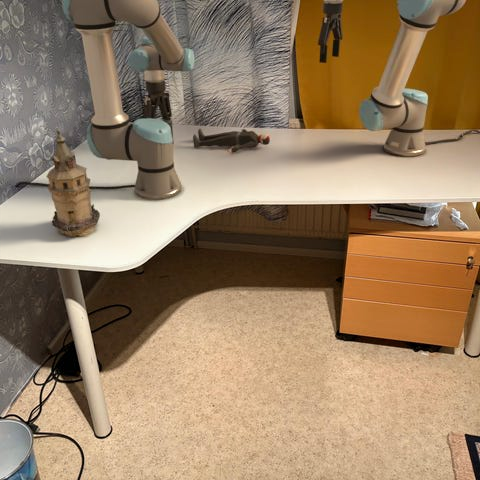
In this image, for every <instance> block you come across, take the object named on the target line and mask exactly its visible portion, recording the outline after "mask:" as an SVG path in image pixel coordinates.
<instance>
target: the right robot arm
mask: <svg viewBox="0 0 480 480" xmlns="http://www.w3.org/2000/svg"><path fill="white" fill-rule="evenodd" d="M343 2H344V0H323V3H322V13H323V14H324V15H326V16H325V17H322V20H321V21H322V22H321V27H320V31H319V37H318V41H317V46H319V61H318V62H319V63H321V64H326V63H327V61H328V45H327V44H328V42H329V38H330V35H331V33H332V36H333V39H332V51H331V57H333V58H334V57H335V58H336V57H337V58H339V57H340V48H341V47H340V45H341V41H343V38H344V37H343V25H342V13H343V5H344V4H343ZM466 2H467V0H396V4H397V11H398V13H399V15H398V18H399V20H400V22H401V24H400V27H399V29H398V32H397V35H396V37H395V41H394V43H393V46H392V48H391V52H390V54H389V57H388V59H387V62H386V65H385V67H384V70H383V73H382V75H381V79H380V80H379V81H380V82H379V84H378V86H376V87H374V88H372V90H371V94H370V96H369V98H365V99H364V100H362V101H361V102H360V104H359V108H358V115H359V119H360V122H361V124H362V126H363V127H364V128H365V129H366V130H367V131H370V132H380V131H384V130H389V129H390V131H389V134H388V136H387V137H386V140H385V142H384V145H383V146H384V147H383V149H384V151H385V152H386V153H388V154H391V155H394V156H399V157H417V156H422V155H423V154H424V153H425V151H426V145H431V144H439V143H443V142H444V143H446V142H455V141H460V140H462V139H463V138H464V135H467V134H470V133H475V132H476V133H477V134H480V130H478V129H470V130H467V131H464V132H465V133H464V132H462V133H463V136H462V133H461V134H460V137H461V136H462V137H461V138H460V137H456V138H457V139H456V138H445V139H439V140H433V141H425V137H424V127H425V121H426V115H427V111H428V105H429V104H428V102H429V96H428V94H427V93H426V92H425V91H422V90H418V89H414V88H406V85H407V83H408V80H409V78H410V75H411V73H412V70H413V68H414V67H415V63H416V60H417V58H418V56H419V53H420V51H421V48H422V46H423V45H424V44H423V43H424V41H425V39H426V36H427V34H428V32H429V31H431V30H432V29H434V28H435V26H436V24H437V22H438V20H439V17H441V16H448V15H449V16H450V15H451V14H454V13H456V12H458V11H459V10H460V9H461V8H463V6H464V5H465V3H466ZM472 131H474V132H472Z"/></svg>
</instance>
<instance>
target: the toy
mask: <svg viewBox="0 0 480 480" xmlns="http://www.w3.org/2000/svg"><path fill="white" fill-rule="evenodd" d="M202 130H203V129H201V128H198V130H197V134H198V136H197V134H193V136H192V141H193V147H194V148H195V149H198V148H201V147H210V148H211V147H228V148H229V149H227V153H229V154H230V155H231V154H234V153H238V152H239V151H242V150H245V149H248V150H254V149H257V148H258V146H259V144H260V145H264V146H267V145H269V144H270V142H271V139H270V136H269V135H268V134H259V135H258V134H257V133H256V132H255V131H254V130H247V129H245V128H241V129H240V131H239V130H238V131H237V130H234V131H225V132H220V133H215V134H208V135H205V133H204V132H203V131H202Z"/></svg>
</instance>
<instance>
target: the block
mask: <svg viewBox="0 0 480 480" xmlns="http://www.w3.org/2000/svg"><path fill="white" fill-rule="evenodd" d="M156 119H158V120H161V121H164V122H166V123H167V124H168V125H169V126H170V128H171V135H172V138H173V139H174V133H173V132H174V131H173V130H174V129H173V121H172V120H164V119H163V118H159V117H157V118H156ZM172 144H173V145H174V144H175V143H174V140H173V141H172Z"/></svg>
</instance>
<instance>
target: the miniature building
mask: <svg viewBox="0 0 480 480" xmlns="http://www.w3.org/2000/svg"><path fill="white" fill-rule="evenodd" d="M56 134H57V136H56V138H55V140H54V141H55V142H56V147H55V154H54V156H52V157H51V161H52V162H53V165H54V167H53V168H51V169H50V170H49V171H48V173H47V174H46V178H47V179H48V182H49V183H48V184H49V186H48V187H47V190H48V191H49V193H50V194H51V200H52V201H53V205H54V209H55V211H53V217H52V220H51V223H52V225H51V227H54V228H56V229H58V230H59V231H60V234H63V235H64V234H65V235H66V236H69V237H77V236H80V237H83V236H87V235H88V234H90V233H93V232H94V231H95V229H96V226H97V225H98V223H99V220H100V216H101V213H100V212H99V210H98V209H96V208H95V204H92V201H91V200H92V199H91V198H92V197H91V192H92V191H91V189H89V186H90V184H91V178H89V177H88V174H87V167H85V166H84V165H83V166H82V165H80V164H77V160H76V154H75V151H74V150H70V149H69V147H68V145H67V143H66V138H65V137H64V136H63V135H61V130H60V129H56Z"/></svg>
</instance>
